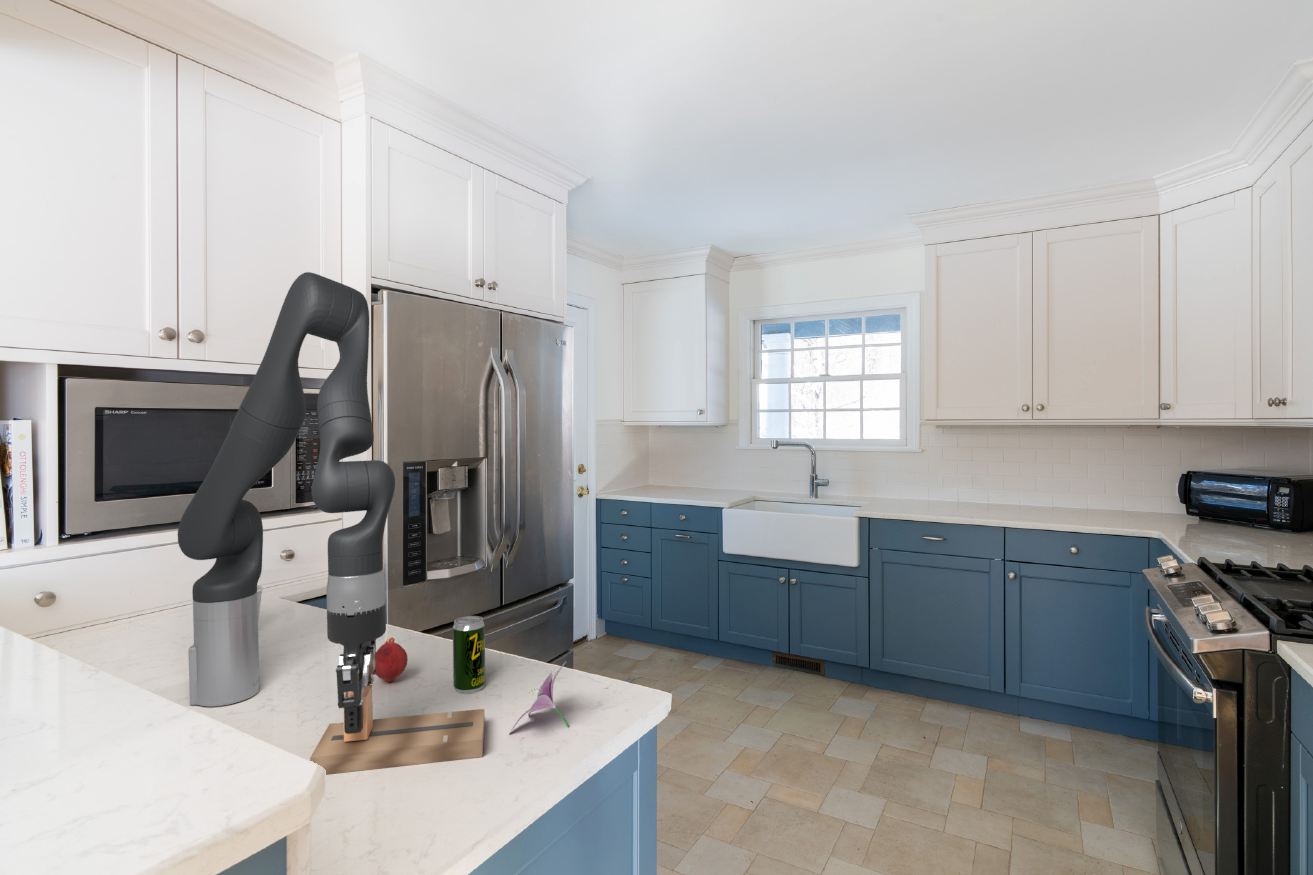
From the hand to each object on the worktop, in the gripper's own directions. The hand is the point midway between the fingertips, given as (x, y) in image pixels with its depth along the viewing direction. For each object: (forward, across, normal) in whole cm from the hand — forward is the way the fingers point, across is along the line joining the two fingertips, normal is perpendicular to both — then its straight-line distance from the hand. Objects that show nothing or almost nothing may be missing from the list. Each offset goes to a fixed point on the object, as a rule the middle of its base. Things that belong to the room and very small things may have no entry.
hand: (358, 720), depth 94 cm
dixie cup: (+5, -61, -36) cm, 71 cm away
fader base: (+5, 0, +6) cm, 8 cm away
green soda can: (+5, -20, +14) cm, 25 cm away
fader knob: (+2, 0, 0) cm, 2 cm away
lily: (+5, -3, +26) cm, 26 cm away
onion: (+5, -26, 0) cm, 26 cm away
